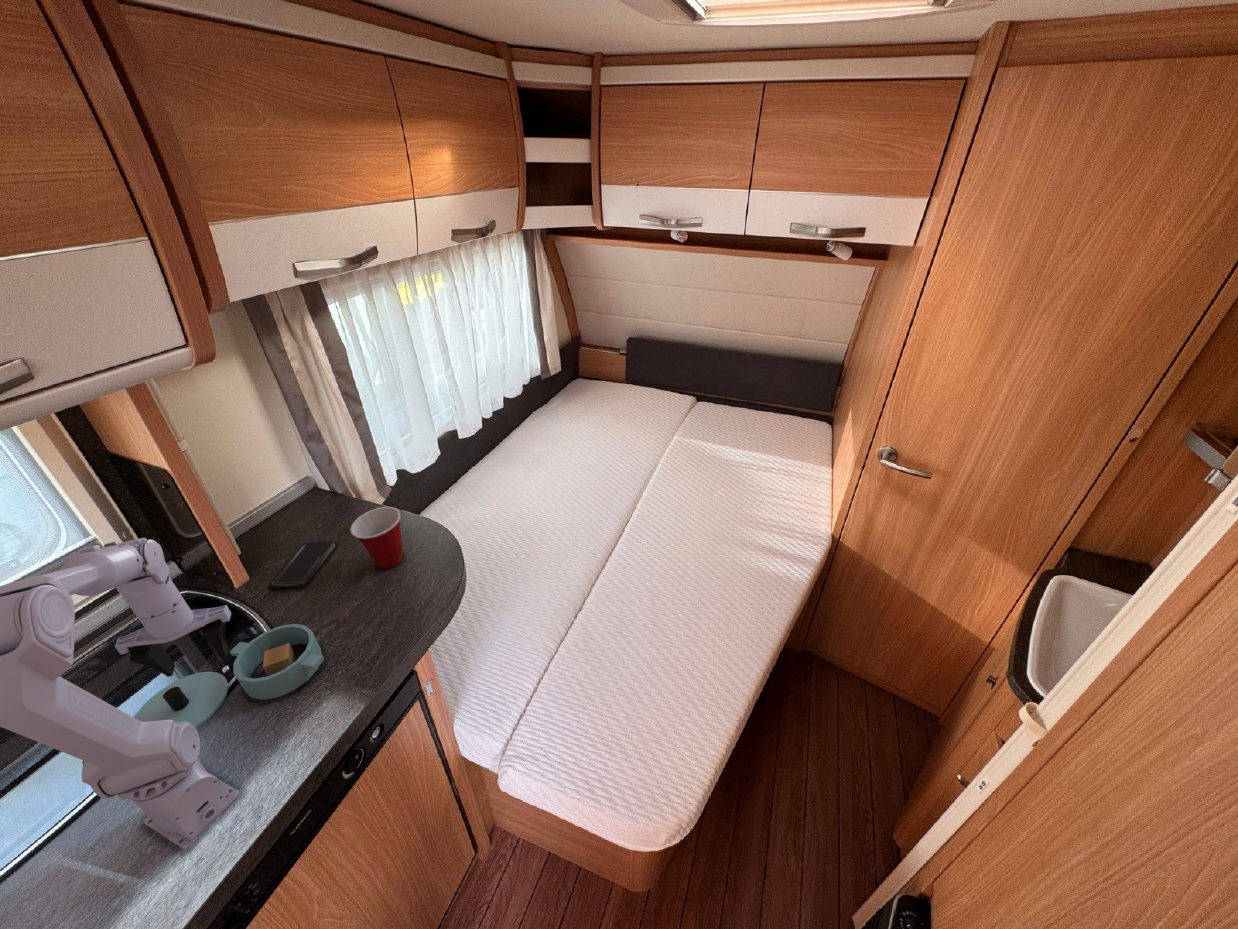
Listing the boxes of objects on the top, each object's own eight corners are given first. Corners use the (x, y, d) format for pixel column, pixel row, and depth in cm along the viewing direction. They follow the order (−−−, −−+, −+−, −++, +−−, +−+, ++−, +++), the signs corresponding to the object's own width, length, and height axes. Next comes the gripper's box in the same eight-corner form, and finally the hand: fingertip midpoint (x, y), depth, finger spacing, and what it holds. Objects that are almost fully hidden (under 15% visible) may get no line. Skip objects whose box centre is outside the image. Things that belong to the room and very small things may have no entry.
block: (296, 657, 97) (289, 642, 95) (296, 672, 94) (288, 658, 92) (272, 665, 96) (264, 651, 94) (271, 682, 93) (262, 667, 91)
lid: (179, 754, 82) (165, 737, 80) (113, 739, 85) (98, 723, 83) (248, 681, 94) (237, 665, 91) (187, 670, 96) (176, 654, 94)
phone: (268, 584, 114) (304, 541, 127) (270, 588, 115) (306, 544, 127) (303, 583, 114) (335, 540, 127) (305, 587, 114) (337, 544, 127)
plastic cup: (358, 560, 122) (342, 520, 116) (402, 540, 128) (389, 500, 122) (374, 583, 115) (358, 542, 109) (420, 560, 121) (408, 520, 115)
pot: (302, 709, 88) (290, 689, 86) (216, 692, 92) (202, 673, 89) (349, 650, 99) (340, 630, 96) (270, 637, 102) (260, 618, 100)
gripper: (218, 574, 86) (250, 630, 93) (109, 605, 80) (152, 662, 87) (210, 601, 80) (246, 658, 87) (93, 636, 75) (141, 694, 82)
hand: (198, 662), depth 87 cm, fingers open, 7 cm apart
